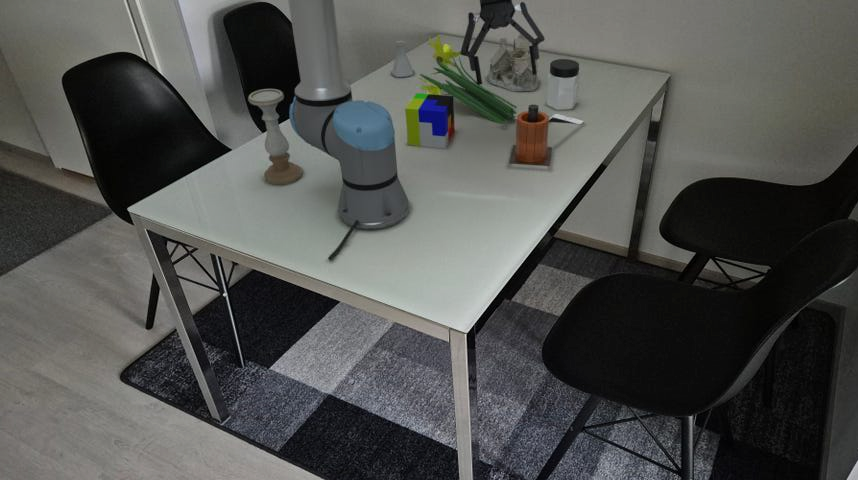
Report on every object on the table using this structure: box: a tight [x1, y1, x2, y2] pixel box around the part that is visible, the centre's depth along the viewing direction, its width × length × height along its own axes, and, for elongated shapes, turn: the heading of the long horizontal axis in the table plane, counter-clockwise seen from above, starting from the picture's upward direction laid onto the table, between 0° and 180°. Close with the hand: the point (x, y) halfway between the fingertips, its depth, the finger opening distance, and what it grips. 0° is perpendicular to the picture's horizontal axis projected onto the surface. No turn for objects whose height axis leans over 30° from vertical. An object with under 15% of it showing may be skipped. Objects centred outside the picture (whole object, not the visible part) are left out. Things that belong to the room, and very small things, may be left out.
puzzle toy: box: [405, 92, 455, 149], centre depth 163 cm, size 10×10×10 cm
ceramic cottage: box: [486, 32, 540, 93], centre depth 193 cm, size 16×16×15 cm
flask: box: [391, 40, 414, 78], centre depth 200 cm, size 7×7×10 cm
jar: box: [546, 58, 580, 111], centre depth 180 cm, size 9×8×12 cm
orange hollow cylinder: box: [515, 110, 550, 162], centre depth 153 cm, size 8×8×10 cm
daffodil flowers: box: [416, 34, 518, 126], centre depth 176 cm, size 17×15×35 cm
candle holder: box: [247, 88, 303, 186], centre depth 145 cm, size 9×9×20 cm
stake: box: [508, 103, 553, 167], centre depth 153 cm, size 10×10×14 cm
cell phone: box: [549, 113, 585, 125], centre depth 169 cm, size 9×18×1 cm, turn 146°
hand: (507, 79), depth 152 cm, fingers open, 13 cm apart
